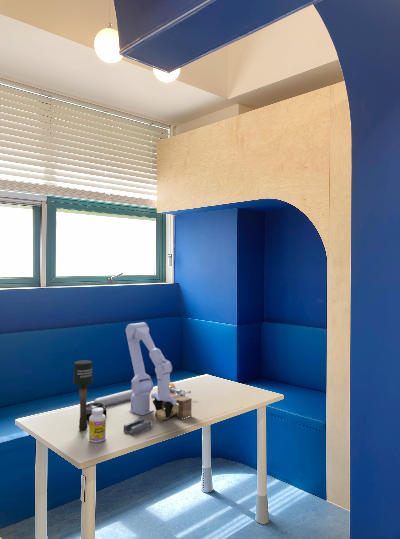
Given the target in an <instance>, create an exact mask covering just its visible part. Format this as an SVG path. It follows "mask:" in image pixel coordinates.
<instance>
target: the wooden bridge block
mask: <svg viewBox="0 0 400 539" xmlns="http://www.w3.org/2000/svg"><path fill="white" fill-rule="evenodd" d="M170 396H171V397H172V398H174V399H176V404H178V406H179V414H178V419H180V418H183V419H182V420H185V419H187V418H186V417H188V416H190V415H191V416H192V397H189V396H188V397H187V396H185V397H184V396H180V395H177V394H173V393H170ZM165 403H167V402H165V401H163V404H162V409H163V408H165V407H164V404H165ZM191 416H190V417H191ZM184 418H185V419H184ZM188 418H189V417H188Z"/></svg>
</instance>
